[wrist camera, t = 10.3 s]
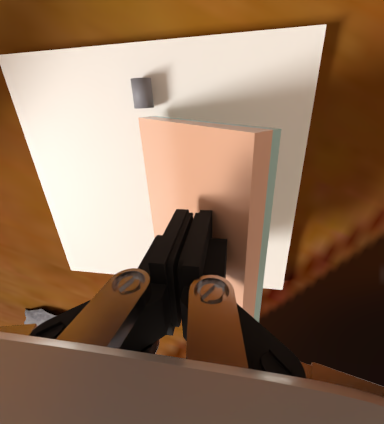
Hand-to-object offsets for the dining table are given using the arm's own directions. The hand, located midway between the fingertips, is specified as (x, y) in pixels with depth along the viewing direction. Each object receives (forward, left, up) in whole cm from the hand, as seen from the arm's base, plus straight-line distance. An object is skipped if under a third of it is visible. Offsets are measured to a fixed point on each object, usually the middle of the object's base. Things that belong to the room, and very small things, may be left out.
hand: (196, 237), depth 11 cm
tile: (0, -1, -2) cm, 2 cm away
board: (0, -4, -8) cm, 9 cm away
